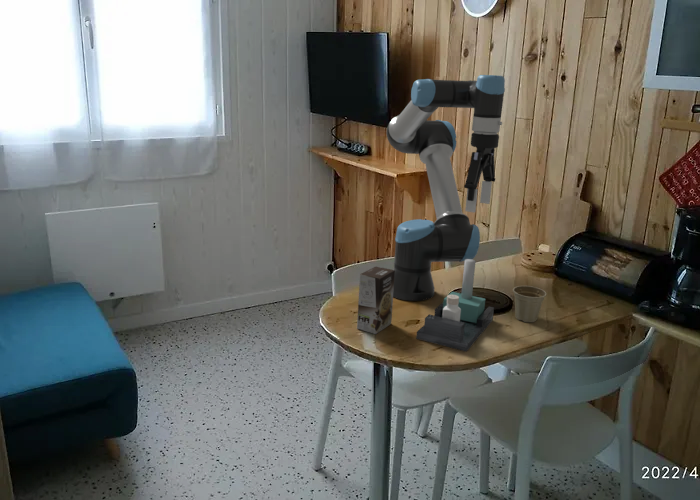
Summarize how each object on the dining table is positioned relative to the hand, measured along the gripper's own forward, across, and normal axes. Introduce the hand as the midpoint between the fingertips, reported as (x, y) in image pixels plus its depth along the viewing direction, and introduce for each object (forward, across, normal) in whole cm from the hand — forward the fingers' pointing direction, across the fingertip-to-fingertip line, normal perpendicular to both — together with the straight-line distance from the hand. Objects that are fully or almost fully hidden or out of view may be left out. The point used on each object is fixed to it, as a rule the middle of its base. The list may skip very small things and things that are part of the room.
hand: (477, 207), depth 175 cm
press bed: (+32, -16, -2) cm, 36 cm away
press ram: (+29, -11, -2) cm, 31 cm away
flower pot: (+32, +3, -17) cm, 36 cm away
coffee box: (+32, -27, +18) cm, 45 cm away
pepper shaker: (+30, -21, -2) cm, 37 cm away
